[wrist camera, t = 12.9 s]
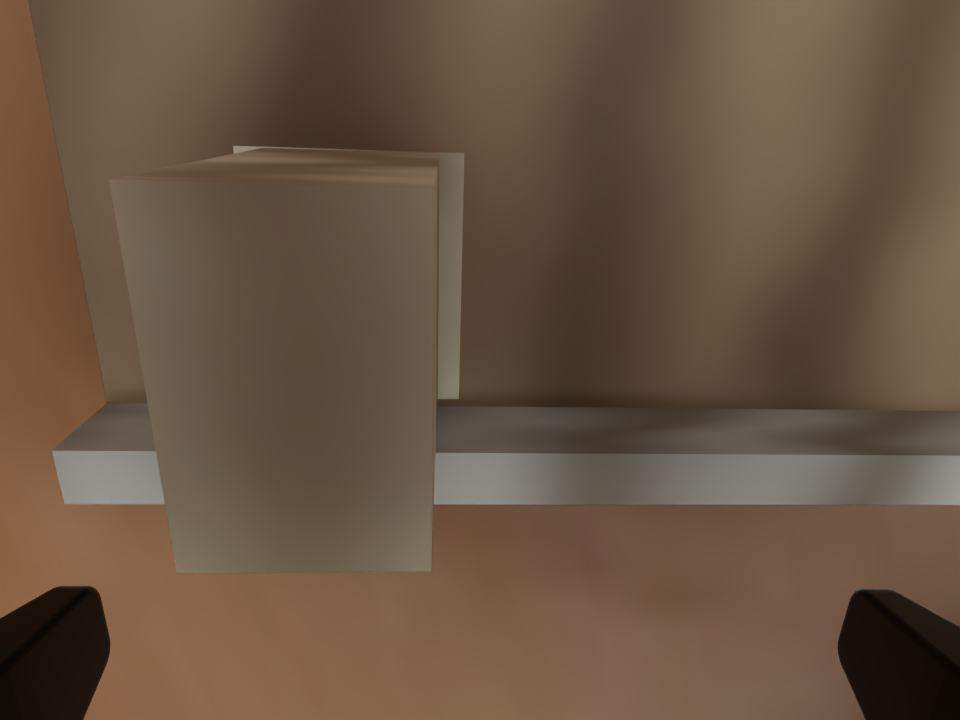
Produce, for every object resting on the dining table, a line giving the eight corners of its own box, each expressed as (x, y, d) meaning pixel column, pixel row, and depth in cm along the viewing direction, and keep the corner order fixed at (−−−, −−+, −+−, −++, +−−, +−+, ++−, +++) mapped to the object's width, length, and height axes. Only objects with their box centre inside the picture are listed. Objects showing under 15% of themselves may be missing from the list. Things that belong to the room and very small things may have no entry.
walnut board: (1156, -51, 16) (1413, -109, 12) (986, 423, 20) (1126, 505, 16) (58, -109, 14) (-104, -200, 10) (149, 416, 19) (64, 503, 15)
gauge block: (439, 153, 15) (433, 188, 8) (437, 392, 17) (431, 571, 10) (262, 147, 14) (109, 179, 8) (283, 391, 17) (177, 572, 10)
